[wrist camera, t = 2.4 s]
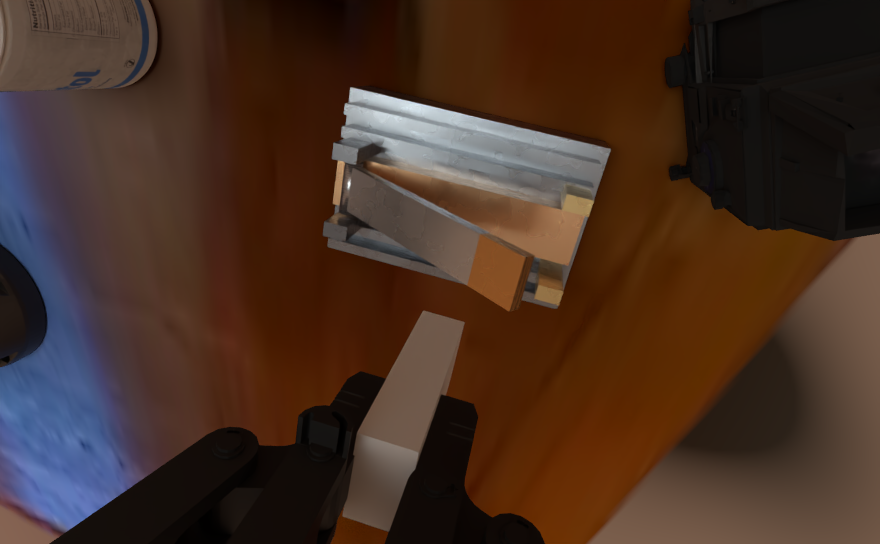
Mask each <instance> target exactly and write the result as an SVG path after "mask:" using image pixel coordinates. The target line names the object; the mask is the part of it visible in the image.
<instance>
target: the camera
mask: <svg viewBox="0 0 880 544" xmlns="http://www.w3.org/2000/svg"><path fill="white" fill-rule="evenodd" d="M688 14H689V21H690V25H692V31H691V33H690V35H689V46H690V53H687V50H686V46H685V43H684V45H683V48H682V51H681V54H680V55H678V56H674V57H669V58H667V59H666V61H665V76H666V81H667V85H668V86H669V88H672V87H675V86H679V85H682V86H683V98H684V110H685V122H686V134H687V146H688V158H687V163H686V167H683V166H680V165H675V166H671V167H670V168H669V174H670V179H671V181H674V180H678V179H682V178H689V177H690V180H691V182H692V183H693V184H694V185H696V186H697V187H698V188H700V189H701V190H702V191H703V192H705V193H706V194H707V195H709V197H711V203H712V206H713V208H714V209H715V210H716V209H722V208H723V207H724V208H725V209H727V210H728V211H729V212H730V213H732V214H733V215H734V216H736V217H737V218H738V219H739V220H741V221H742V222H743V223H745V224H746V225H747V226H753V227H755V228H756V229H757V230H762V229H768V228H770V229H771V230H776V231H777V230H784V229H790V228H791V229H794V230H797V231H801V232H804V233H808V234H811V235H815V236H818V237H822V238H826V239H829V240H833V241H836V240H842V239H848V238H854V237H861V236H867V235H872V234H879V233H880V0H691V10H690V11H688ZM681 167H682V168H681Z"/></svg>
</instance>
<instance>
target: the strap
mask: <svg viewBox="0 0 880 544" xmlns="http://www.w3.org/2000/svg"><path fill="white" fill-rule="evenodd" d="M339 213H341V214H343V215H348V216H353V215H354V216H356V217H357V218H359V219H360V220H362V221H364V222H365V223H367V224H368V225H370V226H372V227H373V228H375V229H377V230H378V231H380V232H381V233H383V234H385V235H386V236H388V237H389V238H391V239H393V240H394V241H396V242H398V243H399V244H401V245H402V246H404V247H406V248H407V249H409V250H410V251H412V252H414V253H415V254H417V255H419V256H420V257H422V258H423V259H425V260H427V261H428V262H430V263H431V264H433V265H435V266H436V267H438V268H440V269H441V270H443V271H444V272H446V273H448V274H449V275H451V276H452V277H454V278H456V279H457V280H459V281H461V282H462V283H464V284H465V285H467V286H469V287H470V288H472V289H473V290H475V291H477V292H478V293H480V294H482V295H483V296H485V297H486V298H488V299H490V300H491V301H493V302H494V303H496V304H498V305H499V306H501V307H503V308H504V309H506V310H507V311H509V312H510V311H513V310H516V309H519V307H520V303H521V300H522V297H523V293H524V290H525V287H526V283H527V280H528V277H529V273H530V270H531V267H532V264H533V260H534V257H535V255H533V254H531V253H529V252H527V251H525V250H523V249H521V248H519V247H517V246H515V245H513V244H511V243H509V242H507V241H505V240H503V239H501V238H499V237H498V236H496V235H494V234H492V233H490V232H488V231H486V230H484V229H482V228H480V227H478V226H476V225H474V224H472V223H470V222H468V221H466V220H464V219H462V218H460V217H458V216H456V215H454V214H452V213H450V212H448V211H447V210H445V209H443V208H441V207H439V206H437V205H435V204H433V203H431V202H429V201H427V200H425V199H423V198H421V197H419V196H417V195H415V194H413V193H411V192H409V191H407V190H405V189H403V188H401V187H399V186H398V185H396V184H394V183H392V182H390V181H388V180H386V179H384V178H382V177H380V176H378V175H376V174H374V173H372V172H370V171H368V170H366V169H364V168H363V162H361V163H359V164H357V165H354V164H350V163H347V162H345V166H344V174H343V181H342V189H341V197H340V205H339Z"/></svg>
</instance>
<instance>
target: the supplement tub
mask: <svg viewBox="0 0 880 544" xmlns="http://www.w3.org/2000/svg"><path fill="white" fill-rule="evenodd" d="M156 50H157V26H156V20H155V16H154V13H153V10H152V7H151V5H150V2H149V0H0V92H12V91H46V90H77V89H108V88H121V87H126V86H129V85H131V84H133V83H135V82H136V81H138V80H139V79H140V78H141V77H142V76H143V75H144V74H145V73H146V72H147V71H148V69H149V68H150V66H151V64H152V62H153V60H154V58H155V54H156Z"/></svg>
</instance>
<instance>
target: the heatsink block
mask: <svg viewBox="0 0 880 544" xmlns="http://www.w3.org/2000/svg"><path fill="white" fill-rule="evenodd" d="M344 114H345V115H347V119H346V126H342V132H341V137H343V138H344V140H341V141H338V142H335V143H334V145H333V153H332V159H335V160H338V165H337V173H336V181H335V189H334V197H333V204H336V206H335V214H334V215H333V216H332V217H330V218H329V219H327V220H326V221H324V229H323V236H326V237H329V238H328V246H327V247H330V248H334V249H337V250H341V251H345V252H348V253H352V254H356V255H359V256H363V257H367V258H370V259H374V260H378V261H381V262H385V263H388V264H392V265H396V266H399V267H403V268H407V269H410V270H414V271H418V272H421V273H425V274H429V275H432V276H436V277H440V278H443V279H447V280H451V281H454V282H458V283H462V282H461V281H459V280H457V279H456V278H454V277H452V276H451V275H449V274H448V273H446V272H444V271H443V270H441V269H440V268H438V267H436V266H435V265H433V264H431V263H430V262H428V261H427V260H425V259H423V258H422V257H420V256H419V255H417V254H415V253H414V252H412V251H410V250H409V249H407V248H406V247H404V246H402V245H401V244H399V243H398V242H396V241H394V240H393V239H391V238H389V237H388V236H386V235H385V234H383V233H381V232H380V231H378V230H377V229H375V228H373V227H372V226H370V225H368V224H367V223H365V222H364V221H362V220H360V219H359V218H357V217H356V216H354V215H353V216H348V215H343V214H341V213H339V205H340V197H341V189H342V181H343V174H344V166H345V162H347V163H350V164H354V165H357V164H359V163H361V162H363V168H364V169H366V170H368V171H370V172H372V173H374V174H376V175H378V176H380V177H382V178H384V179H386V180H388V181H390V182H392V183H394V184H396V185H398V186H399V187H401V188H403V189H405V190H407V191H409V192H411V193H413V194H415V195H417V196H419V197H421V198H423V199H425V200H427V201H429V202H431V203H433V204H435V205H437V206H439V207H441V208H443V209H445V210H447V211H448V212H450V213H452V214H454V215H456V216H458V217H460V218H462V219H464V220H466V221H468V222H470V223H472V224H474V225H476V226H478V227H480V228H482V229H484V230H486V231H488V232H490V233H492V234H494V235H496V236H498V237H499V238H501V239H503V240H505V241H507V242H509V243H511V244H513V245H515V246H517V247H519V248H521V249H523V250H525V251H527V252H529V253H531V254H533V255H535V257H534V260H533V264H532V267H531V270H530V273H529V277H528V280H527V283H526V287H525V290H524V293H523V297H522V300H524V301H528V302H531V303H535V304H539V305H542V306H546V307H550V308H553V309H554V308H555V309H557V308H558V305H559V303H560V300H561V297H562V295H563V290H564V287H565V284H566V281H567V278H568V275H569V272H570V269H571V266H572V263H573V260H574V257H575V254H576V251H577V248H578V245H579V243H580V240H581V237H582V234H583V231H584V228H585V225H586V222H587V219H588V217H589V215H590V212H591V209H592V206H593V203H594V198H595V195H596V192H597V189H598V186H599V183H600V180H601V177H602V174H603V171H604V168H605V165H606V162H607V159H608V156H609V154H610V151H611V148H610V147H609V146H608V145H607V143H606V142H605V141H601V140H597V139H593V138H589V137H584V136H580V135H576V134H572V133H568V132H563V131H559V130H555V129H551V128H546V127H542V126H538V125H534V124H529V123H525V122H521V121H517V120H512V119H508V118H504V117H500V116H495V115H491V114H487V113H483V112H479V111H474V110H470V109H466V108H462V107H457V106H453V105H449V104H445V103H440V102H436V101H432V100H428V99H423V98H419V97H415V96H411V95H406V94H402V93H398V92H394V91H390V90H385V89H381V88H377V87H373V86H360V87H350V95H349V103H345V108H344ZM462 284H464V283H462Z"/></svg>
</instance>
